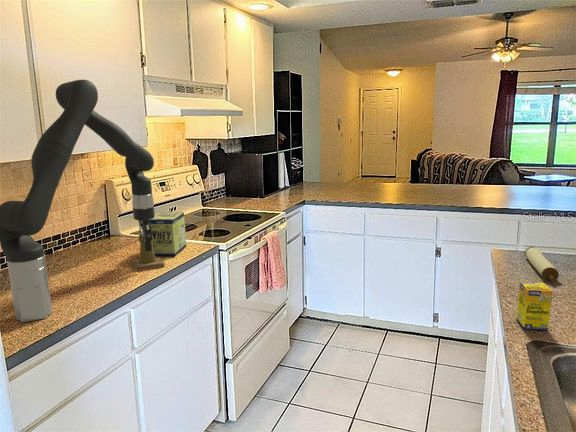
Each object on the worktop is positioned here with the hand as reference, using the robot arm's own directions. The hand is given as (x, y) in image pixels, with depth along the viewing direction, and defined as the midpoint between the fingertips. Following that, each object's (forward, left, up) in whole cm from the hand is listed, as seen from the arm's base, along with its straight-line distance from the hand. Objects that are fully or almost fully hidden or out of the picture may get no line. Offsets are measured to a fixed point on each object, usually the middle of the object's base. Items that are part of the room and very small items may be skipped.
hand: (146, 248), depth 171 cm
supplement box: (-102, -80, -7) cm, 129 cm away
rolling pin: (-74, -122, -7) cm, 143 cm away
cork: (0, 0, -6) cm, 6 cm away
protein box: (+15, -11, -7) cm, 20 cm away
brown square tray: (0, 0, -7) cm, 7 cm away
